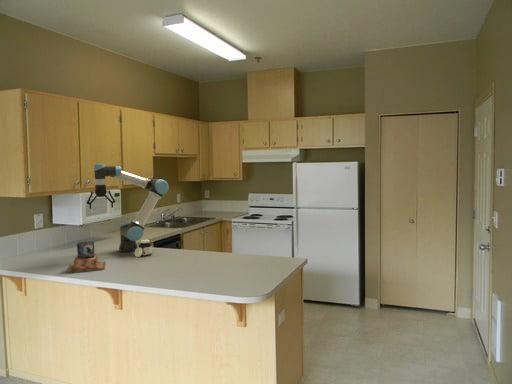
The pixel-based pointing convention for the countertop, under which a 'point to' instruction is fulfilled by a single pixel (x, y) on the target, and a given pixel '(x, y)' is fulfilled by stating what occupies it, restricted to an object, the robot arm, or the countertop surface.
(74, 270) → the tower base
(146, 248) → the spread jar
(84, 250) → the small box
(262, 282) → the countertop surface
